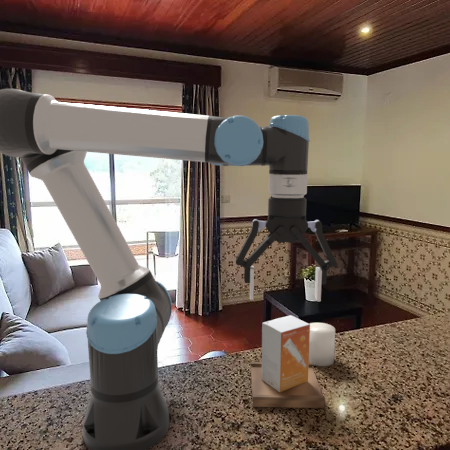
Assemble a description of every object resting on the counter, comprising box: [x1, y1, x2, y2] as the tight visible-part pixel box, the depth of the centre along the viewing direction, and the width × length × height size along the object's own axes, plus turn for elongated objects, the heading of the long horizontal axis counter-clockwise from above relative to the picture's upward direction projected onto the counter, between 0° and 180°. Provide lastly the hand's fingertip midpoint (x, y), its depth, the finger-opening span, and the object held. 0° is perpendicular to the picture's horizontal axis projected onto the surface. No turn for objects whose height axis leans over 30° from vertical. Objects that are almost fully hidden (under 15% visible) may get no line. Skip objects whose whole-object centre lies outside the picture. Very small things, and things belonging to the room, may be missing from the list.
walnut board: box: [250, 361, 326, 409], centre depth 84 cm, size 14×14×2 cm
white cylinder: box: [309, 322, 336, 367], centre depth 97 cm, size 7×9×8 cm
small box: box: [261, 314, 310, 392], centre depth 83 cm, size 8×6×13 cm
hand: (284, 298), depth 81 cm, fingers open, 13 cm apart
